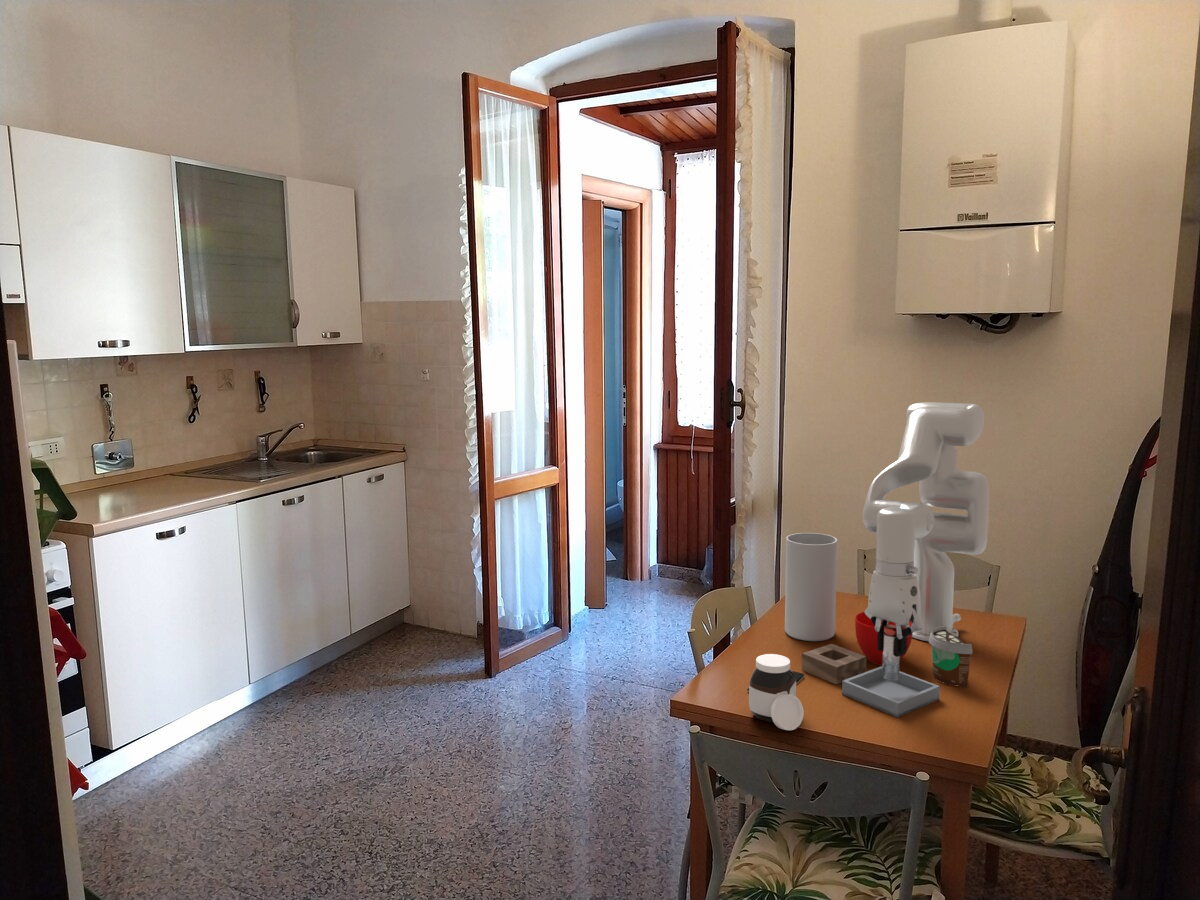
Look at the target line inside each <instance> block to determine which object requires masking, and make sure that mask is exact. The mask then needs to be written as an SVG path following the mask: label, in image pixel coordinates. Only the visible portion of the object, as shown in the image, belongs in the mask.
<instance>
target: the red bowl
mask: <svg viewBox="0 0 1200 900" xmlns="http://www.w3.org/2000/svg"><path fill="white" fill-rule="evenodd" d="M854 622H855V623H854V626H855V628H854V629H855V637H856V641H857V645H858V646H859V649H860V650H861V652H862V655H863V656H866V659H867V660H868V661H869V662H871V663H873V665H874V664H875V665H877V666H878V665H879V666H882V663H883V650H882V651H879V650H878V649H877V648H878V644H877V635H878V632H877V631H876V630H875V626H874V624H873V623H872V621H871V619H870V618H869V617H868V616H867V615H866V614H865V611H862V612H859V613H858V614H856V615H855V618H854ZM888 625H896V623H893V622H890V621H889V622H888ZM911 626H912V623H911V621H909V627H911ZM902 627H903V626H902ZM912 639H913V637H912V634H910V636H908V637H907V650H906V653H905V654H904V655H901V656H900V660H901V659H903V657H905V655H906V654H907V652H908V650H909V648H910V646H911V643H912Z"/></svg>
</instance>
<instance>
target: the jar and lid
mask: <svg viewBox="0 0 1200 900" xmlns="http://www.w3.org/2000/svg"><path fill="white" fill-rule="evenodd" d="M793 671H794V670H792V669H791V660H790V658H788V657H787V656H784V655H781V654H776V653H764V654H762V655H759V656H757V657H756V659H755V669H754V670H753V671H752V673H751V676H750V679H749V684H748V685H749V687H748V688H749V693H748V707H749V710H750V712H751V714H752V715H754V716H755V717H756V718H757V719H759V718H760V719H759V720H762V721H764V722H768V723H774V725H775V726H776V727H777V728H778V729H781V730H783V731H794V730H796V729H798V728H799V726H800V725H801V724H802V722H803V719H804V707H803V704H802V702H801V700H800V699H799V697H797V684H796V678H795V674H794V673H793Z"/></svg>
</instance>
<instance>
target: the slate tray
mask: <svg viewBox="0 0 1200 900" xmlns="http://www.w3.org/2000/svg"><path fill="white" fill-rule="evenodd" d="M841 684H842V685H841V687H842V688H841V689H842V691H841V694H842V695H843V696H845V697H847V698H850V699H853V700H856V701H857V702H860V703H862V704H865V705H867V706H869V707H871V708H874V709H876V710H879V711H880V712H883V713H886V714H888V715H890V716H893V717H895V718H897V719H898V718H901V717H903V716H904V715H907V714H909V713H912V712H914V711H917V710H918V709H922V708H923V707H925V706H928V705H931V704H932V703H936V702H937V701H940V692H941V691H940V690H941V686H940V685H938V684H935V683H932V682H929V681H927V680H924V679H921V678H919V677H916V676H914V675H912V674H911V675H910V674H908V673H906V672H903V671H900V670H899V679H898V680H896V681H890V680H886V679H884V678H882V665H880V666H879V667H875V668H873V669H870V670H866V672H865V673H862V674H859V675H857V676H854V677H851V678H848V679H846V680H843V681H842V683H841Z"/></svg>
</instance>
